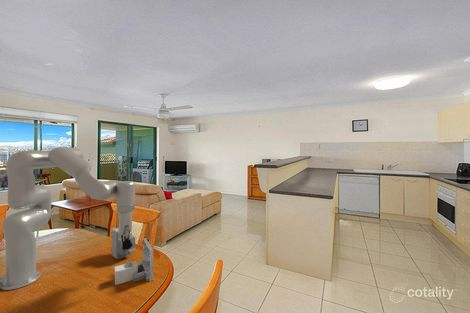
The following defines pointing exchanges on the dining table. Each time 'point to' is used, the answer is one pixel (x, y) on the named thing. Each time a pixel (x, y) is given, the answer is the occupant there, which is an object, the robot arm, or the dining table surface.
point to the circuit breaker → (120, 245)
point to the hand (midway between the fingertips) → (125, 244)
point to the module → (125, 272)
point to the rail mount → (145, 264)
